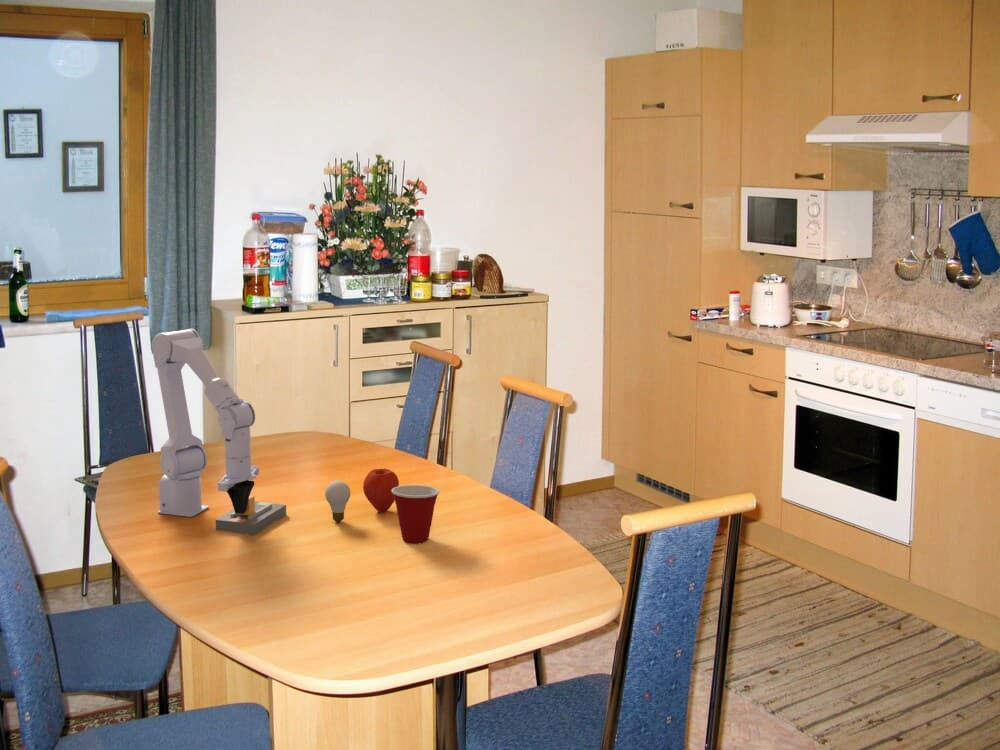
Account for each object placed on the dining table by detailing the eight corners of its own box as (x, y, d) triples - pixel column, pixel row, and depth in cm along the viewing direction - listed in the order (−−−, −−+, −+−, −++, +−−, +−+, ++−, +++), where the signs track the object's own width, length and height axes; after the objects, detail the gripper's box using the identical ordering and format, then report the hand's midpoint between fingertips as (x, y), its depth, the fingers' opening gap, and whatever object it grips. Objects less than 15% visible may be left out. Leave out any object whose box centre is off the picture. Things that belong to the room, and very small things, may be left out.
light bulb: (346, 526, 260) (345, 485, 258) (322, 525, 261) (321, 484, 259) (354, 518, 265) (353, 478, 263) (330, 517, 266) (329, 476, 264)
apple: (357, 514, 269) (356, 471, 266) (374, 504, 276) (373, 462, 274) (389, 519, 265) (388, 475, 263) (405, 508, 273) (405, 466, 271)
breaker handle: (238, 514, 259) (237, 497, 258) (243, 511, 261) (243, 494, 260) (249, 515, 258) (249, 499, 257) (254, 512, 260) (254, 496, 259)
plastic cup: (447, 534, 255) (447, 484, 253) (428, 550, 245) (428, 498, 243) (403, 529, 258) (403, 479, 256) (383, 544, 248) (383, 492, 246)
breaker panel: (215, 529, 257) (215, 516, 256) (249, 510, 271) (249, 497, 270) (254, 534, 254) (253, 521, 253) (286, 514, 268) (285, 501, 267)
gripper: (236, 465, 246) (239, 524, 249) (269, 449, 260) (271, 505, 262) (208, 462, 248) (211, 520, 251) (243, 446, 262) (245, 502, 265)
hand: (240, 512), depth 257 cm, fingers closed
